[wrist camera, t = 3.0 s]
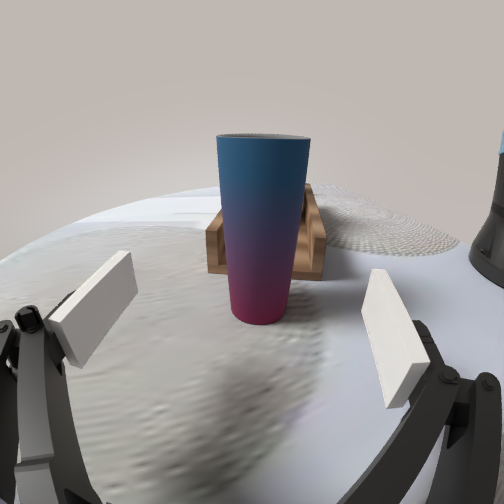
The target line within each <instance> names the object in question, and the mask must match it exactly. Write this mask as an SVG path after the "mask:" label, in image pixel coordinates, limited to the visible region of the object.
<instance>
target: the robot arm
mask: <svg viewBox="0 0 504 504" xmlns="http://www.w3.org/2000/svg"><path fill="white" fill-rule="evenodd" d="M499 155H500V158H499V166H498V173H497V180H496V186H495V191H494V196H493V201H492V206H491V211H490V214H489V216H488V218H487V220H486V221H485V223H484V225H483V226H482V228H481V230H480V231H479V233H478V235H477V237H476V238H475V240H474V242H473V243H472V246H471V249H470V253H469V259H470V261H471V263H472V264H473V266H474V267H475V268H476V269H477V270H478V271H479V272H480V273H482V274H483V275H484V276H485V277H487V278H488V279H490V280H491V281H493V282H494V283H496V284H498V285H500V286H501V287H503V288H504V131H503V134H502V141H501V148H500V151H499ZM137 293H138V289H137V284H136V279H135V274H134V269H133V264H132V258H131V253H130V251H120V250H119V251H118V252H117V253H116V254H115V255H114V256H113V257H111V258H110V259H109V260H108V261H107V262H106V263H105V264H104V265H103V266H102V267H100V268H99V269H98V270H97V271H96V272H95V273H94V274H93V275H92V276H91V277H90V278H89V279H88V280H87V281H85V282H84V283H83V284H82V285H81V286H80V287H79V288H78V289H77V290H75V291H73V292H72V293H70V294H68V295H67V296H66V297H65V298H64V299H63V300H62V302H60V303H59V304H58V306H56V307H55V308H54V309H53V310H52V311H51V312H50V313H49V314H48V315H47V316H46V317H45V318H44V319H43V320H42V318H41V315H40V313H39V311H38V308H37V307H36V306H33V305H29V306H25V307H23V308H21V309H20V310H19V311H18V312H17V313H16V314H15V319H16V321H17V323H18V326H19V328H20V329H15V327H14V325H13V323H12V321H10V320H4V321H0V504H14V499H15V488H16V485H17V490H18V495H19V500H20V504H102V502H101V500H100V498H99V496H98V495H97V494H96V492H95V491H94V489H93V488H92V486H91V484H90V481H89V478H88V475H87V472H86V469H85V465H84V462H83V459H82V455H81V451H80V448H79V444H78V440H77V436H76V431H75V427H74V422H73V417H72V412H71V407H70V401H69V395H68V389H67V382H66V374H65V366H64V363H63V361H62V360H63V358H64V357H65V356H66V358H67V360H68V361H69V363H70V365H73V366H75V367H78V368H81V369H82V368H83V366H84V365H85V364H86V362H87V361H88V359H89V358H90V356H91V355H92V354H93V352H94V351H95V349H96V348H97V347H98V345H99V344H100V342H101V341H102V340H103V338H104V337H105V335H106V334H107V333H108V331H109V330H110V329H111V327H112V326H113V325H114V323H115V322H116V321H117V319H118V318H119V317H120V315H121V314H122V313H123V311H124V310H125V309H126V307H127V306H128V305H129V303H130V302H131V301H132V300H133V298H134V297H135V296H136V294H137ZM361 313H362V316H363V319H364V323H365V326H366V330H367V333H368V337H369V340H370V344H371V348H372V351H373V355H374V359H375V363H376V367H377V371H378V375H379V379H380V383H381V388H382V392H383V396H384V401H385V406H386V409H390V408H400V407H403V406H404V404H405V403H406V401H407V400H408V399H409V403H410V408H409V409H408V411H407V412H406V413H405V415H404V416H403V418H402V419H401V422H400V423H399V425H398V427H397V428H396V430H395V431H394V433H393V434H392V436H391V437H390V438H389V440H388V441H387V443H386V444H385V446H384V447H383V448H382V450H381V451H380V452H379V454H378V455H377V456H376V458H375V459H374V460H373V462H372V463H371V464H370V466H369V467H368V468H367V469H366V471H365V472H364V473H363V474H362V476H361V477H360V478H359V479H358V480H357V481H356V483H355V484H354V485H353V486H352V487H351V488H350V490H349V491H348V492H347V493H346V494H345V495H344V496H343V497H342V498H341V499H340V500H339V502H338V503H337V504H399V503H400V502H401V500H402V499H403V498H404V496H405V495H406V493H407V492H408V490H409V488H410V487H411V485H412V484H413V482H414V481H415V479H416V477H417V476H418V474H419V472H420V471H421V469H422V467H423V465H424V464H425V462H426V460H427V458H428V456H429V455H430V453H431V451H432V449H433V447H434V445H435V443H436V441H437V439H438V437H439V435H440V433H441V431H442V429H443V426H444V425H446V426H445V432H444V437H443V442H442V447H441V452H440V456H439V460H438V464H437V468H436V472H435V476H434V479H433V483H432V486H431V489H430V492H429V496H428V499H427V501H426V504H493V502H494V497H495V491H496V485H497V479H498V471H499V463H500V452H501V434H502V402H501V386H500V382H499V381H498V379H497V378H496V377H495V376H494V375H493V374H491V373H488V372H483V373H480V374H479V375H478V377H477V378H476V379H475V380H469V379H463V378H460V375H459V373H458V372H457V371H456V370H455V369H453V368H452V367H450V366H447V365H445V363H444V361H443V359H442V357H441V355H440V352H439V350H438V348H437V346H436V344H435V343H434V340H433V338H432V337H431V334H430V332H429V330H428V328H427V327H426V326H425V325H424V324H423V323H422V322H421V321H420V320H411V318H410V316H409V314H408V312H407V310H406V308H405V306H404V304H403V302H402V300H401V298H400V296H399V294H398V292H397V290H396V288H395V287H394V285H393V283H392V281H391V279H390V277H389V275H388V274H387V272H386V270H385V269H372V271H371V275H370V279H369V283H368V287H367V291H366V295H365V299H364V303H363V307H362V310H361ZM7 359H8V361H9V362H10V366H9V367H8V366H7V365H6V360H7ZM19 442H20V451H21V463H18V464H17V454H18V444H19ZM106 504H111V503H108V502H106Z"/></svg>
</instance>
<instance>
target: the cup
mask: <svg viewBox="0 0 504 504" xmlns="http://www.w3.org/2000/svg"><path fill="white" fill-rule="evenodd" d="M216 137H217V153H218V167H219V180H220V193H221V205H222V217H223V229H224V240H225V251H226V261H227V272H228V282H229V292H230V301H231V310H232V313H233V314H234V315H235V317H237V318H238V319H239V320H241V321H243V322H246V323H249V324H255V325H264V324H269V323H273V322H275V321H277V320H279V319H280V318H281V317H283V315H284V314H285V311H286V306H287V300H288V295H289V289H290V283H291V277H292V271H293V265H294V259H295V252H296V246H297V239H298V233H299V226H300V219H301V212H302V205H303V197H304V190H305V182H306V174H307V166H308V158H309V149H310V140H311V139H310V138H308V137H301V136H291V135H279V134H225V135H217V136H216Z"/></svg>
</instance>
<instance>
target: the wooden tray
mask: <svg viewBox="0 0 504 504" xmlns="http://www.w3.org/2000/svg"><path fill="white" fill-rule="evenodd" d="M326 241H327V237H326V233H325V230H324V227H323V223H322V220H321V217H320V213H319V210H318V207H317V204H316V201H315V198H314V195H313V191H312V188H311V185H310V184H306V183H305V190H304V197H303V205H302V212H301V219H300V226H299V233H298V239H297V246H296V252H295V259H294V265H293V271H292V277H291V279H299V280H315V281H321V277H322V270H323V263H324V256H325V249H326ZM206 248H207V265H208V273H219V274H228V272H227V261H226V251H225V240H224V229H223V217H222V209H221V210H220V212H219V213H218V214H217V216H216V217H215V218H214V220H213V221H212V222H211V224H210V225H209V226H208V228H207V229H206Z"/></svg>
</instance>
